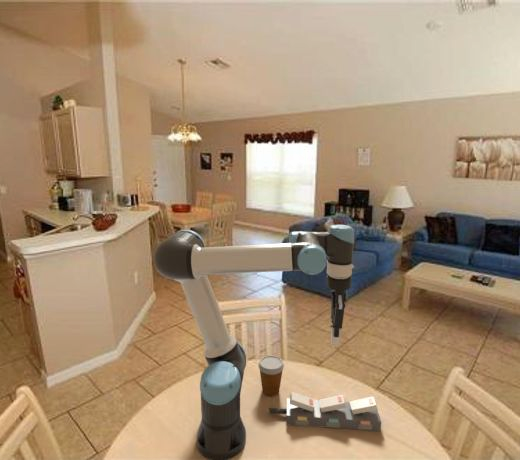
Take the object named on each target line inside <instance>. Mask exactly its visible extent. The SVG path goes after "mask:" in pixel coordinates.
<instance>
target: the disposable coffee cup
mask: <svg viewBox="0 0 520 460" xmlns="http://www.w3.org/2000/svg"><path fill="white" fill-rule="evenodd" d="M257 365H258V369H259V375H260V382H261V387H262V388H261V392H262V394H264V396H266V397H275V396H277V395H278V394H279V393H280V388H281V382H282V375H283V371H284V368H285V363H284V361H283V359H282V358H281V357H280V356H277V355H273V354H272V355H265V356H263V357H261V358H260V360H259V362H258V364H257Z"/></svg>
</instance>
